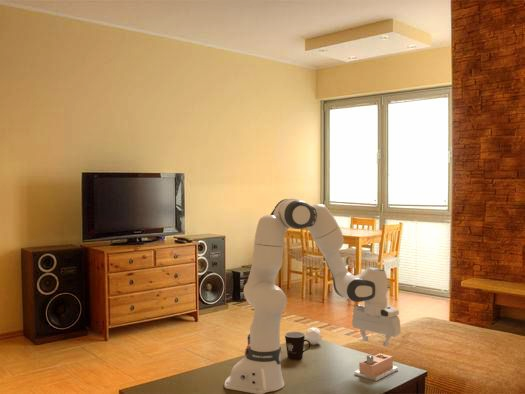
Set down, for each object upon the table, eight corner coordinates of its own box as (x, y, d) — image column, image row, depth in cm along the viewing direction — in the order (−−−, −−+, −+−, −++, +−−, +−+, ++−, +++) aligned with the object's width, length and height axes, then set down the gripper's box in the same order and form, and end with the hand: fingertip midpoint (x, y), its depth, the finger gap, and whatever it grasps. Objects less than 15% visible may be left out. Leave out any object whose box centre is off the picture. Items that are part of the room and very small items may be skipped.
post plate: (376, 381, 203) (376, 361, 203) (354, 374, 210) (354, 355, 210) (398, 370, 214) (397, 351, 214) (376, 364, 221) (376, 346, 221)
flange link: (372, 376, 205) (372, 365, 205) (359, 372, 209) (359, 362, 209) (392, 366, 215) (392, 356, 215) (380, 362, 219) (379, 353, 219)
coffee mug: (281, 356, 234) (281, 333, 233) (299, 353, 237) (298, 330, 237) (294, 364, 223) (294, 340, 223) (312, 360, 227) (312, 337, 226)
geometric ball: (316, 348, 252) (325, 334, 254) (315, 347, 245) (324, 332, 246) (302, 339, 254) (311, 325, 256) (301, 338, 247) (310, 323, 249)
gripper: (349, 305, 216) (349, 339, 217) (394, 314, 202) (393, 350, 202) (358, 302, 221) (357, 336, 221) (402, 311, 207) (402, 346, 207)
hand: (375, 343), depth 212 cm, fingers open, 8 cm apart
